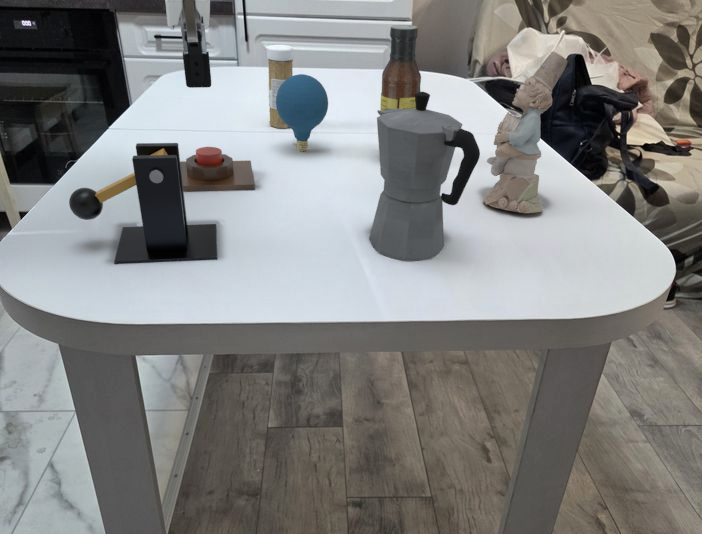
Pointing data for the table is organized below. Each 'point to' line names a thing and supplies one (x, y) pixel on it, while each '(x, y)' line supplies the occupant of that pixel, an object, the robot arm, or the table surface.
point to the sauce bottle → (401, 70)
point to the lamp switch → (163, 213)
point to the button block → (217, 175)
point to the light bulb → (302, 106)
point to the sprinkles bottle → (278, 77)
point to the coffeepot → (417, 178)
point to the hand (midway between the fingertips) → (199, 85)
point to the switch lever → (100, 195)
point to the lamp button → (209, 156)
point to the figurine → (523, 142)
